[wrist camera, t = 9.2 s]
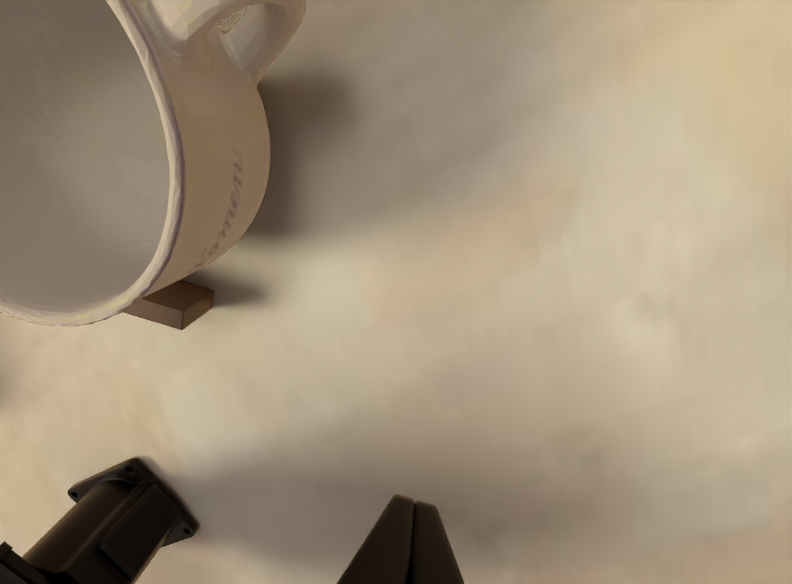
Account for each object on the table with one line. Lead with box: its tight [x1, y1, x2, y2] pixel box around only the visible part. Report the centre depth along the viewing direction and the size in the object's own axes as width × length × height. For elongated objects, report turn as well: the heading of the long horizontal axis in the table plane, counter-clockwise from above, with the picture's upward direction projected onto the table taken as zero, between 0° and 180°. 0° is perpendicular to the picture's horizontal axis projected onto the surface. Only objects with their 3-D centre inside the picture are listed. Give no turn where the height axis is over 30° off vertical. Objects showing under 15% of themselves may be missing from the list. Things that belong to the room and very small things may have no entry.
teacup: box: [0, 0, 305, 326], centre depth 14 cm, size 14×11×8 cm
